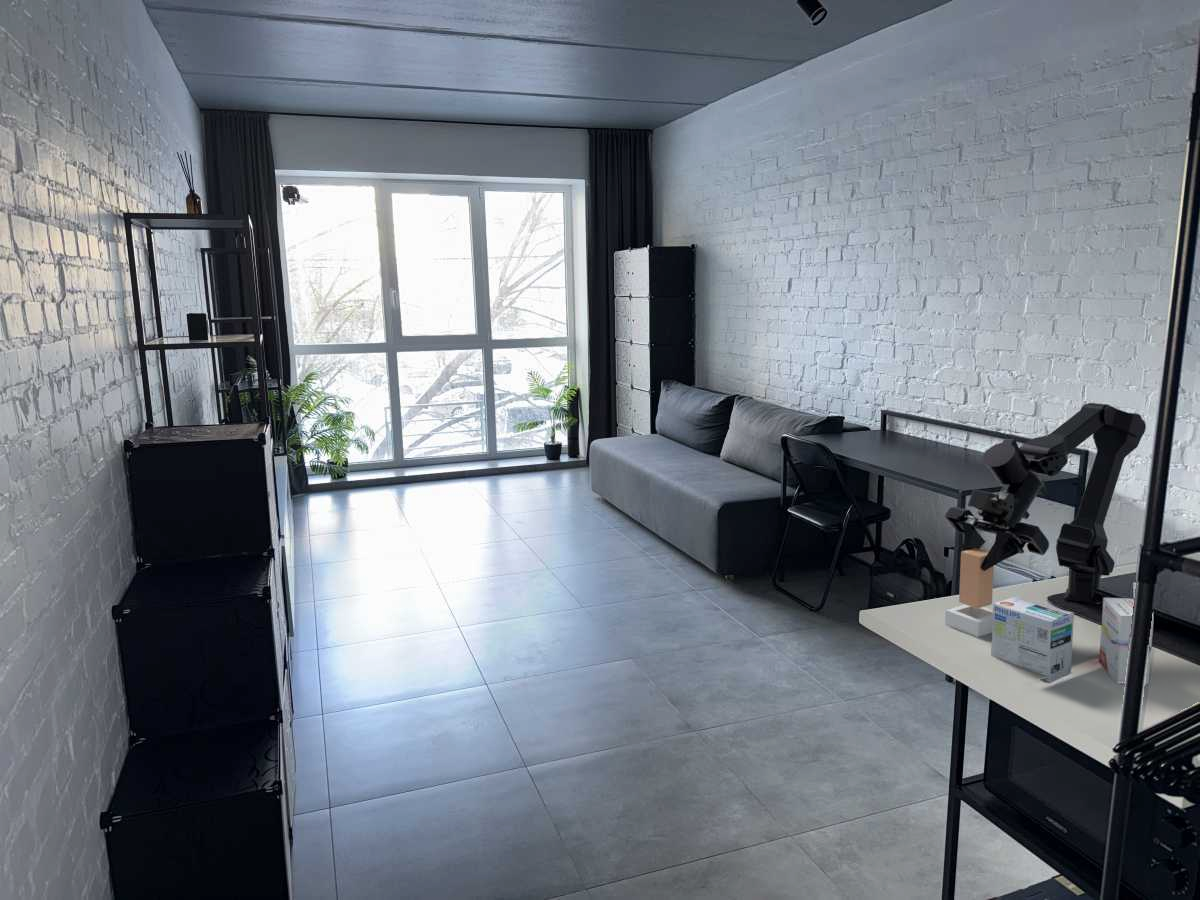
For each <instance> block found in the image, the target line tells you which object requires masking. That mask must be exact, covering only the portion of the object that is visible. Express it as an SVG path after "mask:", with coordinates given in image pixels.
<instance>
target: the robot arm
mask: <svg viewBox="0 0 1200 900" xmlns="http://www.w3.org/2000/svg"><path fill="white" fill-rule="evenodd" d="M1146 425H1147V424H1146V421H1145V420H1144V419H1143V418H1142V415H1140V413H1136V412H1127V411H1125V410H1121V409H1118V408H1115V406H1111V405H1110V404H1107V403H1097V402H1096V403H1095V402H1088V403H1085V404H1083V405H1082V406H1081V408H1080V410H1079V411H1077V412H1076V413H1075V414H1074V415H1073V416H1071V417H1069V419H1067V420H1066V421H1065V422H1063V423H1062V424H1061V425H1060V426H1058V427H1057V428H1056V429H1054V430H1053V431H1052V432H1051V433H1049V434H1047V435H1043V436H1037V437H1034V438H1031V439H1029V440H1027V441H1026V442H1024V443H1022V444H1021V445H1020V447H1019V445H1018V443H1017V441H1016V440H1015V439H1011V438H1004V439H1003V441H1002V442H1000V443H996V444H994V445H992V446H990V447H989V448H987V449H985V452H984V453H983V457H982V461H983V463H984V465H986V467H987V468H988V470H989V471H990V472H991V474H992V475H993V477H994V478H995V479H996V481H997V482H998V483H999V484H1002V485H1003V486H1002V488H1000V491H999V492H994V491H993V493H992V492H989V491H983V490H979V489H972V491H971V494H970V498H969V501H968V503H967V507H973V508H974V509H977V514H978V515H979V516H980V517H982V519H979V518H978V517H975V515H974V514H973V512H971V510H970V509H966V508H963V507H958V506H951V507H949V509H948V510H947V512H946V513H945V515H944V517H945V519H946V520H947V521H948V522H949V524H950V525H951V526H952V527H953V529H954V530H955V531H956V532H958V533H959V534H961V535H962V534H963V543H962V549H961V552H962V551H966V550H970V549H974V548H977V549H981V548H982V547H983V546H984V544H985V543H986V540H985V539H984V538H983V536H982V534H983V532H986V533H988V534H989V533H990V534H994V535H995V540H994V543H993V545H992V546H991V548H990V549H989V551H988V554H987V556H986V557H985V559H984V561H983V563H982V565H981V569H982V570H983V571H986V570H987V569H989V568H991V567H992V566H994V567H995V566H996V565H998V564H999V563H1001V562H1003V561H1005V560H1007V559H1010V558H1011V557H1013V556H1016V555H1017V554H1021V555H1023V554H1024V552H1025V550H1024V547H1025V546H1026V548H1027V551H1028V552H1029V553H1033V554H1037V555H1040V556H1044V555H1045V554H1046V552H1047V551H1048V549H1049V548H1050V547H1049V546H1050V542H1049V539H1048V538H1047V536H1046V535H1045V533H1043V531H1042V529H1041V528H1040V527H1039V526H1038V525H1034V524H1031V523H1025V522H1021V521H1022V519H1025V520H1028V519H1029V517H1030V515H1031V514H1030V513H1029V511H1028V510H1029V508H1030V507H1031V505H1032V504H1033V501H1034V500H1035V498H1036V497H1037V496H1038V495H1042V496H1046V495H1047V488H1046V485H1045V480H1042V479H1040V478H1039V476H1038V475H1042V476H1049V477H1055V476H1057V475H1058V474H1059V473H1060V472H1061V471H1062V470H1063V469H1064V467H1065V466H1066V465H1067V464H1068V461H1069V454H1070V453H1071V452H1072V451H1073V450H1075V449H1076V448H1077V447H1079V446H1080V445H1081V444H1082V443H1083V442H1085V441H1086V440H1088V439H1089V438H1090V437H1091V436H1092V439H1093V442H1094V444H1095V449H1096V455H1095V457H1094V460H1093V464H1092V467H1091V470H1090V473H1089V475H1088V476H1089V477H1088V479H1087V483H1086V485H1085V489H1084V492H1083V495H1082V498H1081V502H1080V505H1079V508H1078V511H1077V515H1076V517H1075V518H1074V519H1073V520H1072V521H1071V522H1070V523H1066V522H1064V523H1063V524H1062V526H1061V528H1060V532H1059V535H1058V538H1057V539H1056V545H1055V549H1056V550H1055V551H1056V556H1057V561H1058V566H1059V567H1065V568H1068V569H1069V570H1068V583H1067V588H1066V590H1065V593H1064V597H1063V599H1064V600H1065V601H1070V600H1075V601H1074V602H1077V601H1083V602H1082V603H1084V602H1092V603H1098V602H1097V601H1096V598H1095V594H1094V590H1095V589H1097V588H1099V587H1100V588H1101V583H1102V576H1107V577H1108V576H1111V573H1113V571H1114V568H1115V563H1116V562H1115V561H1114V559H1113V558H1112V556H1111V554H1110V553H1109V552H1108V551H1107V546H1108V542H1109V541H1108V537H1107V534H1106V531H1105V528H1104V524H1105V521H1106V518H1107V515H1108V511H1109V509H1110V505H1111V502H1112V499H1113V496H1114V492H1115V489H1116V486H1117V483H1118V480H1119V476H1120V473H1121V470H1122V468H1123V467H1122V466H1123V463H1124V461H1125V458H1126V457H1127V456H1128V455H1129V454H1131V453H1132V452H1133V451H1134V450H1135V449H1136V448H1138V446H1139V444H1140V442H1141V439H1142V437H1143V436H1144V435H1145V433H1146V429H1147V426H1146ZM1037 474H1038V475H1037ZM959 562H960V563H961V558H960V559H959Z"/></svg>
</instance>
